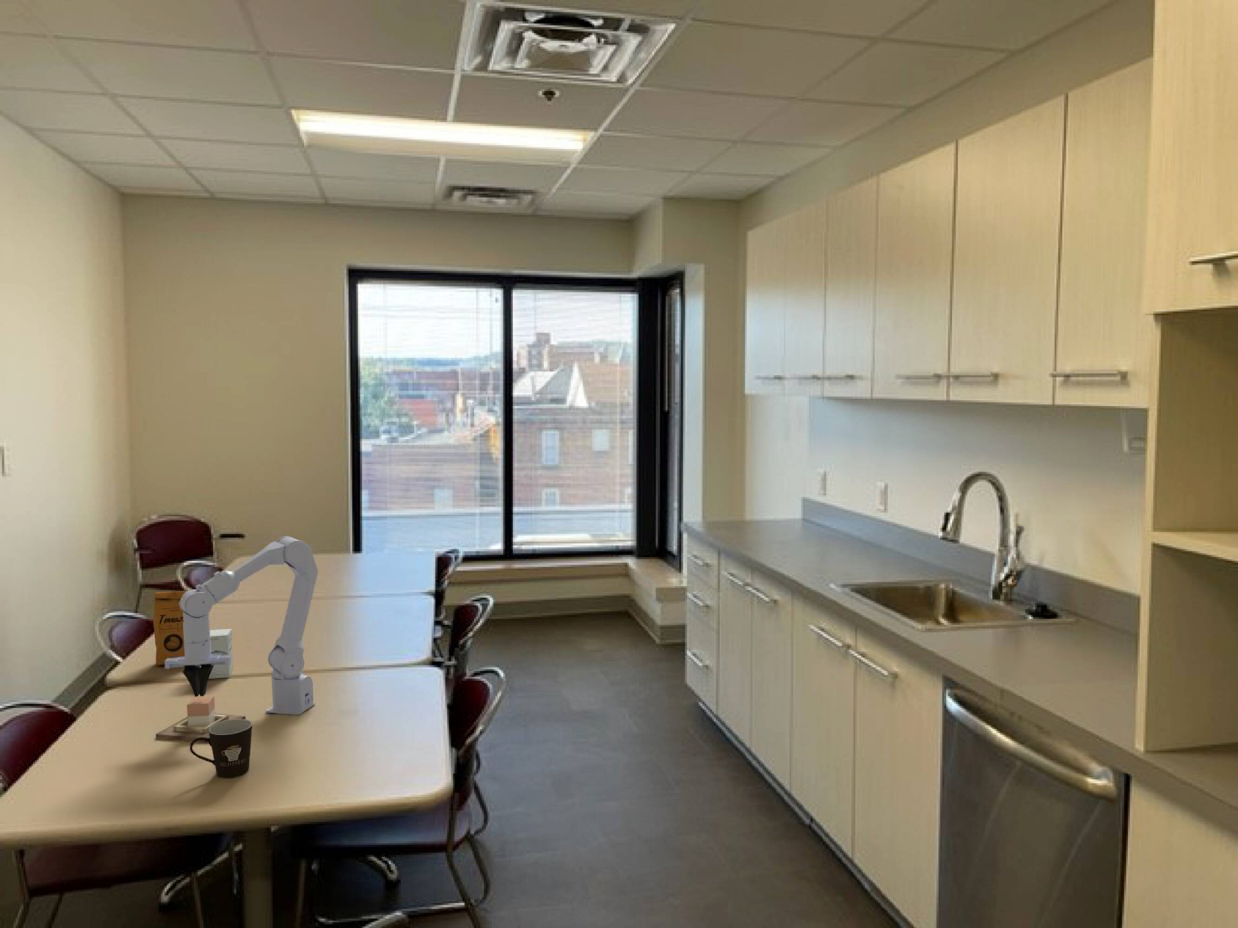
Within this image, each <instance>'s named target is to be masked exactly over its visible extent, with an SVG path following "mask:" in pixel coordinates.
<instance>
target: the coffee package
mask: <svg viewBox="0 0 1238 928" xmlns="http://www.w3.org/2000/svg"><path fill="white" fill-rule="evenodd" d="M187 591H188V590H181V591H157V592H156V591H155V592H154V596H153V597H154V605H153V610H154V611H153V618H152V619H153V620H152V621H153V629H154V631H153V632H154V633H153V634H154V641H155V642H154V644H155V645H154V646H155V647H156V650H155V666H165V660H166V659H168V658H178V657H185V649H184V631H183V622H184V620H183V612H184V611H183V610H182V609H181V608H180V606H179V602H180V599H181V597H182V595H183V594H184V593H185V592H187Z"/></svg>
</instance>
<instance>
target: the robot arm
mask: <svg viewBox="0 0 1238 928" xmlns="http://www.w3.org/2000/svg"><path fill="white" fill-rule="evenodd" d="M316 563H317V562H316V560H315V558H314V550H313V549H312V548H311V546H309V544H308V543H307V542H306V541H303V540H299V539H296V538H295V537H292V536H290V535H284V536H281V537H279V538H278V539H276V541H275V540H274V541H272V542H270V543H269V544H267V546H265V547H263V548H262V549H261V550H259V552H257V553H255V554H254V555H252V556H251V557H250V558H248V559H247V560H246V561H245V562H243V563H242V564H240V565H239V566H237V567H236V568H234V569H233V570H230V571H229V570H223V571H221V572H220V571H218V570H217V571H216V572H214V573H213V575H214V576H213V577H211V578H210V579H208V580H207V581H205V582H204V583H202V584H200V583H199V584H197V585H196V586H195V588H196V589H189V590H186V591H187V592H185V593H184V594H183V595H182V597H181V599H180V602H179V606H180V608H181V609H182V610H183V611H184V612H183V620H184V622H183V631H184V649H185V657H178V658H168V659H166V660H165V665H164V669H166V670H168V669H171V668H172V669H173V668H183V670H182V673H183V675H184V676H185V678H186V679H187V681H188V682H189V685H190V687H191V690H192V692H193V695H194V698H196V697H205V695H206V692H207V686H208V681H209V680H210V679H209V676H210V674H211V671H212V669H213V667H214V665H230V664H231V663H232V662H231V655H211V640H210V630H211V626H210V625H211V624H210V615H209V613H210V612H211V611H212V607H213V606H214V605H217V604H218V603H219V602H221V601H222V600H224V599H226V598H228V597H229V596H230V595H232V594H233V593H234V592H236V591H238V590H239V586H240V583H241V582H243V581H245V580H246V579H248V578H249V577H251V576H253V575H255V574H256V573H258V572H260V571H261V570H263V569H264V568H267V567H268V566H270V565H271V566H272V565H274V566H275V565H282V566H283V565H285V564H286V565H287V566H288V568H289V569H290V570H291V571H292V573H293V574H294V579H293V583H292V588H291V591H290V594H289V595H290V597H289V600H288V604H287V609H286V612H285V617H284V621H283V625H282V629H281V632H280V636H278V638H277V639H276V641H275V643H274V646H273V647H272V649H271V650H270V652H269V654H268V656H267V660H268V661H267V663H268V664H269V666H270V667H271V668H272V672H271V691H272V692H271V695H272V696H271V697H272V706H271V707H269V708H267V709H265V713H269V714H270V713H271V714H280V715H281V714H283V715H293V716H294V715H296V716H298V715H301V714H302V713H304V712H305V711H307V710H308V709H310V708H312V706H314V705H316V702H315V701H314V683H313V679H312V677H311V676H309V675H305V674H303V673H302V671H303V670H304V667H305V659H304V651H305V648H304V647H305V646H304V643H303V636H304V632H305V630H306V629H305V628H306V624H307V620H308V614H309V612H310V607H311V604H312V603H311V602H312V599H313V595H314V592H315V591H314V590H315V586H316V581H317V578H318V572H319V571H318V570H319V569H318V566H317V564H316Z"/></svg>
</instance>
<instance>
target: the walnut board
mask: <svg viewBox="0 0 1238 928" xmlns="http://www.w3.org/2000/svg"><path fill="white" fill-rule="evenodd" d="M233 719H246V716H245V715H236V714H222V713H215V721H214V722H213V723H211V724H210V725H208V726H206V727H193V726H188V716H186V717H184V718H183V719H181V720H179V721H177V722H175V723H173V724H172V725H170V726H168V727H166V728H164V729H162V730H161V731H159V732H157V733H155V739H162V740H171V741H172V740H174V741H187V742H192V741H193V740H195V739H196V738H199V737H205V738H210V736H209V728H210V727H211V726H213V725H214V724H217V723H219V722H223V721H227V720H233ZM246 720H247V719H246ZM197 742H199V743H207V742H206V741H204V740H199V741H197ZM197 742H196V743H197Z"/></svg>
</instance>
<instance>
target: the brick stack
mask: <svg viewBox="0 0 1238 928" xmlns="http://www.w3.org/2000/svg"><path fill="white" fill-rule="evenodd" d="M215 708H216V706H215V696H198V697H192V699H190V701H189V702H188V703H187V704H186V713H187V717H188V726H193V727H206V726H208V725H210V724H211V723H213V722H214V721H215V714H216V709H215Z"/></svg>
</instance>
